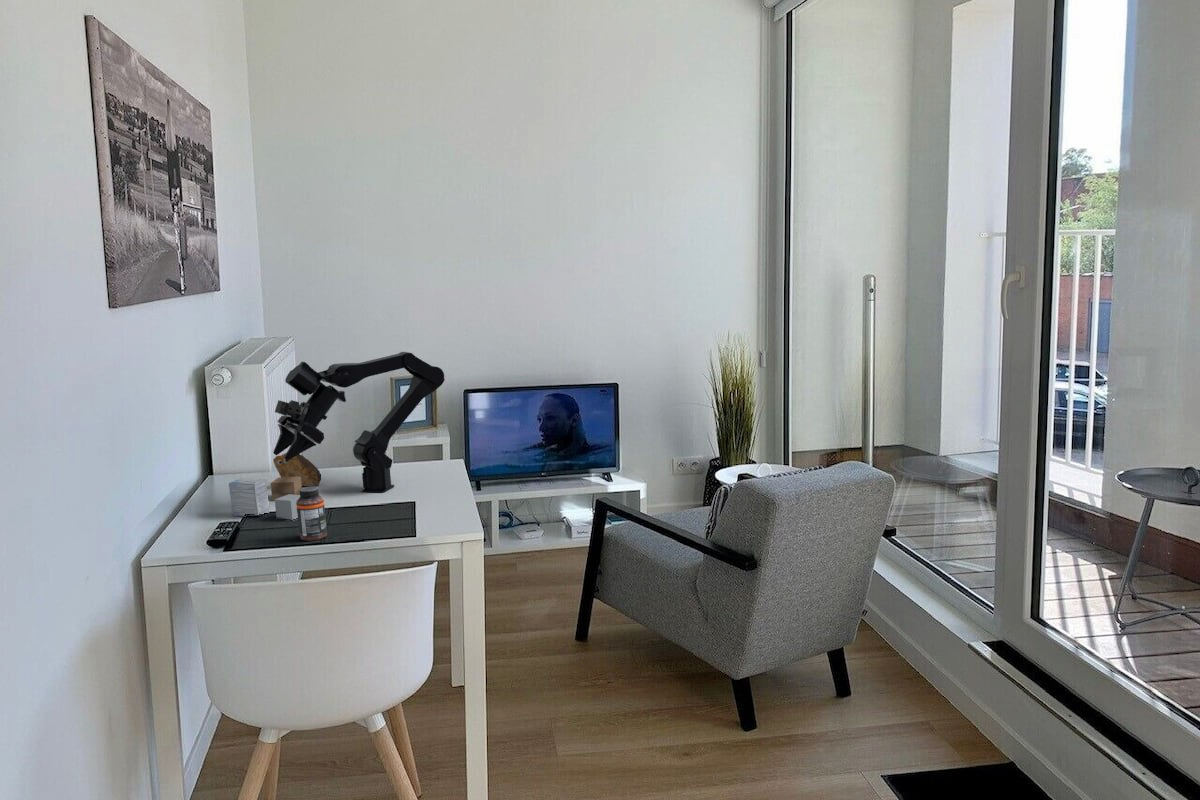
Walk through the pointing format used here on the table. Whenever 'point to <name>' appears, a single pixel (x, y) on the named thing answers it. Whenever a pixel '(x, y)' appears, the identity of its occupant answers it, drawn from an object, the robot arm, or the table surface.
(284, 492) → the walnut block
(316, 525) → the supplement bottle
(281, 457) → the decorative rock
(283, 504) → the slate-grey block
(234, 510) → the medicine box
